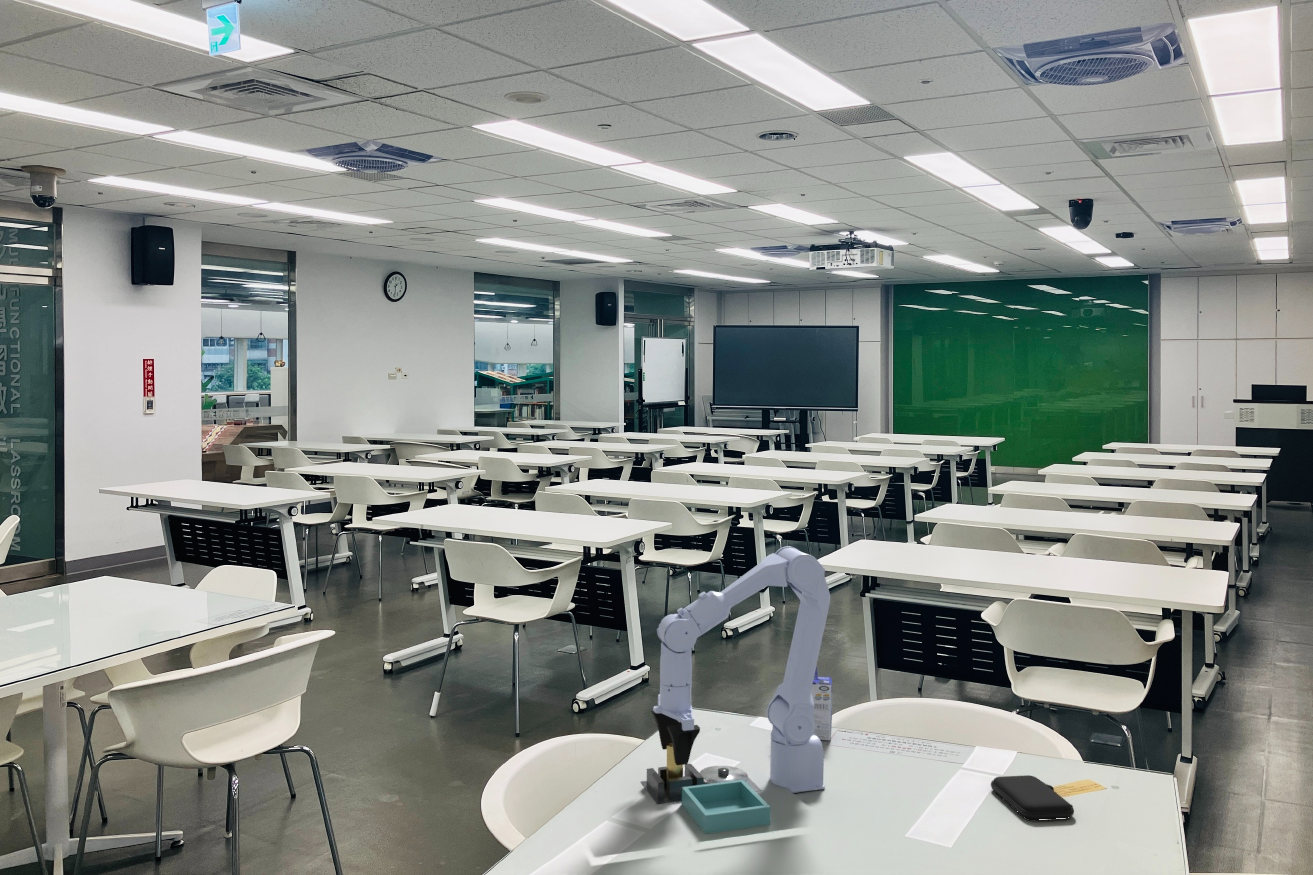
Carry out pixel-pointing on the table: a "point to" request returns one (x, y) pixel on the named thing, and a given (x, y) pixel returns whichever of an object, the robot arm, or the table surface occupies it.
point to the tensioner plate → (690, 781)
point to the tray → (725, 806)
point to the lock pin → (672, 765)
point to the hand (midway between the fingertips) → (674, 755)
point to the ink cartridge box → (822, 706)
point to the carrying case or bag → (1032, 797)
